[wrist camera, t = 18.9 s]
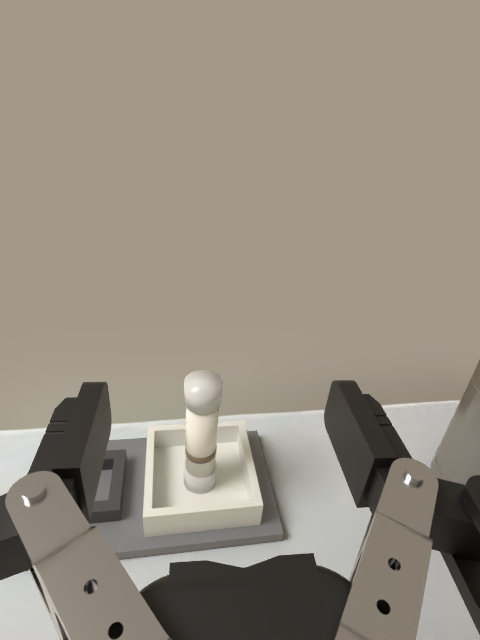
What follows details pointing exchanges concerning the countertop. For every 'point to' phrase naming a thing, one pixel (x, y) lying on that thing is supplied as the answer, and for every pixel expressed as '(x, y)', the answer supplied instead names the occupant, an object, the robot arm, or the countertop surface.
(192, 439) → the white capped peg
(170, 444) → the grey board with tray
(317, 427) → the countertop surface
